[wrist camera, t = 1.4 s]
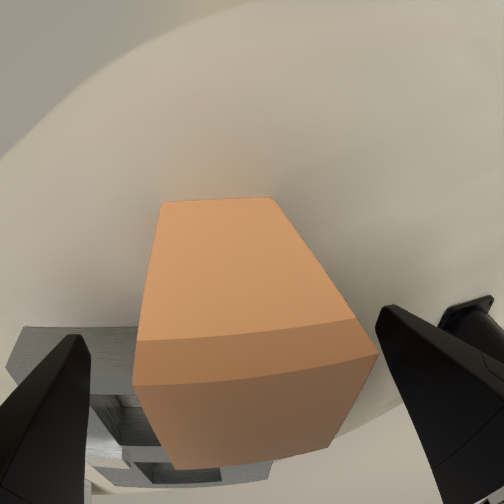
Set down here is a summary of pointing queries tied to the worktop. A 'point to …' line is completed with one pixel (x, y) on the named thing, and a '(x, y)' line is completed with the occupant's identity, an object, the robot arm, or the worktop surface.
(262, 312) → the orange rectangular block
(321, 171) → the worktop surface
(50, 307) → the worktop surface
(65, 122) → the worktop surface
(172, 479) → the socket plate
